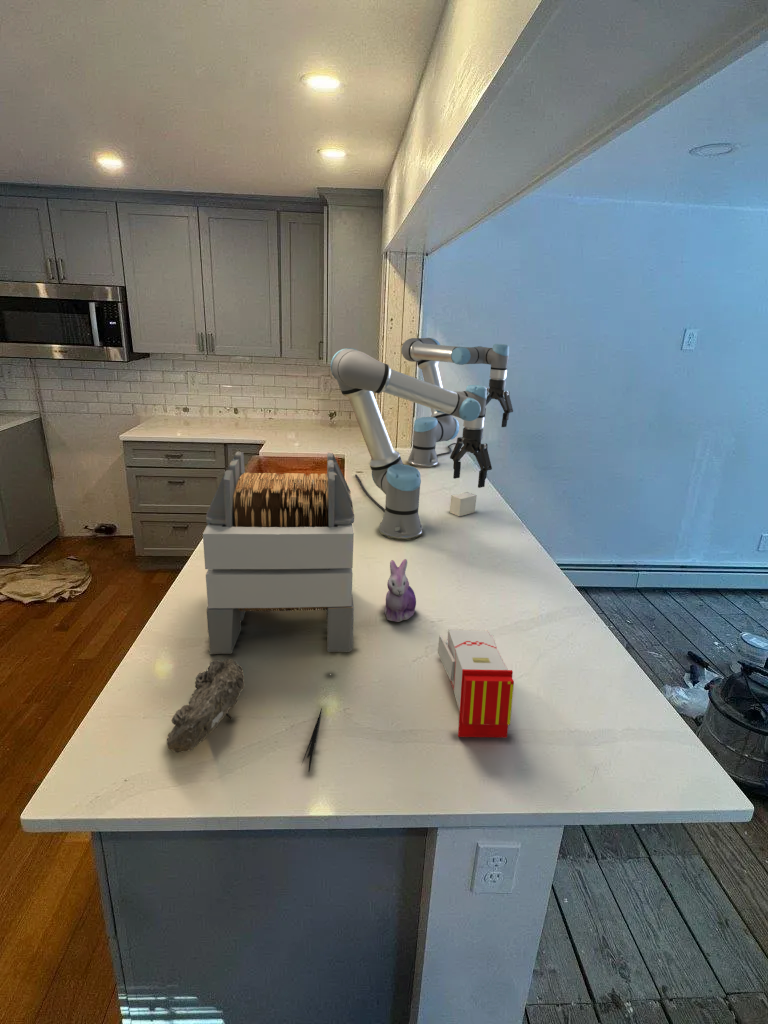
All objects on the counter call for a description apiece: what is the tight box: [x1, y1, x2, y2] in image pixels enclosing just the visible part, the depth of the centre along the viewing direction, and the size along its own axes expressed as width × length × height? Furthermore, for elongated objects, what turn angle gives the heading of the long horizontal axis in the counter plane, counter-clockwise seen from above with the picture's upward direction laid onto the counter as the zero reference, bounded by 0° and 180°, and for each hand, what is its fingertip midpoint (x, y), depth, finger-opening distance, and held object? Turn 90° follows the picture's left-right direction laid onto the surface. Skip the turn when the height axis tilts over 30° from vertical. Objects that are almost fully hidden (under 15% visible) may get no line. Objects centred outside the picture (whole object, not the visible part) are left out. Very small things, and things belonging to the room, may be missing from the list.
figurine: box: [384, 558, 417, 623], centre depth 145 cm, size 9×10×15 cm
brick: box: [449, 491, 478, 517], centre depth 223 cm, size 9×5×7 cm, turn 129°
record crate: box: [202, 451, 355, 655], centre depth 137 cm, size 34×33×41 cm
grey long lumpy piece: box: [166, 658, 245, 754], centre depth 106 cm, size 22×10×15 cm
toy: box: [437, 628, 515, 738], centre depth 117 cm, size 12×13×30 cm
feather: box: [301, 673, 332, 771], centre depth 108 cm, size 2×28×2 cm
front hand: (468, 482), depth 218 cm, fingers open, 13 cm apart
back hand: (492, 424), depth 270 cm, fingers open, 13 cm apart
